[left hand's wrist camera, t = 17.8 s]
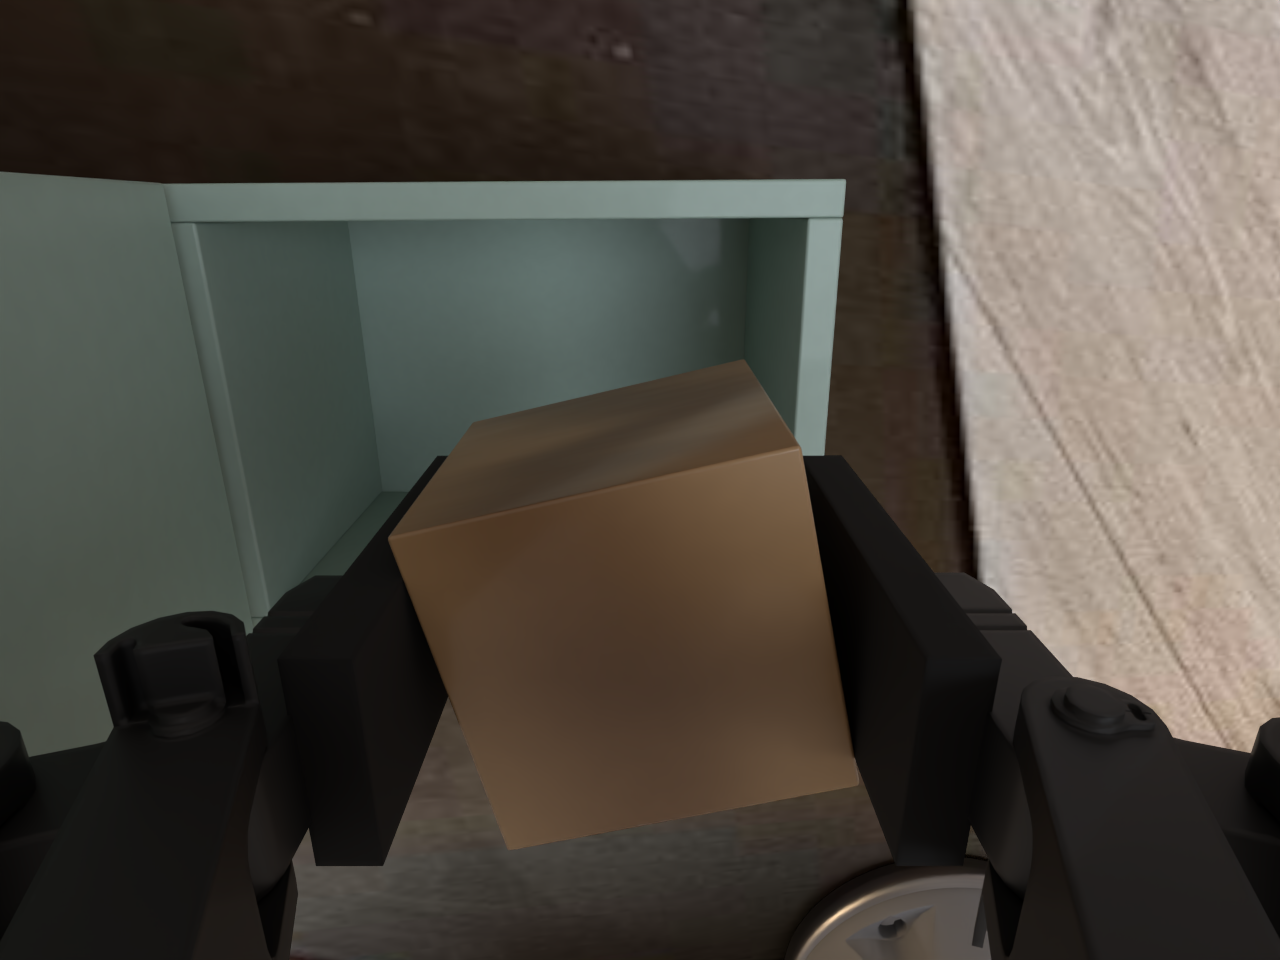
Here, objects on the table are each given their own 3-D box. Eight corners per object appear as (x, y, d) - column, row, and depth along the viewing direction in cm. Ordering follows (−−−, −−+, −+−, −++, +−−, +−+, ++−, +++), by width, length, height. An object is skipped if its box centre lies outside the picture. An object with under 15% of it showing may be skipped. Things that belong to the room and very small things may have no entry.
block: (745, 358, 13) (801, 444, 9) (791, 603, 15) (860, 787, 10) (471, 421, 14) (385, 538, 9) (547, 654, 15) (507, 852, 11)
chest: (770, 187, 28) (847, 179, 18) (755, 500, 32) (809, 640, 22) (329, 190, 28) (150, 183, 18) (371, 503, 32) (246, 644, 22)
